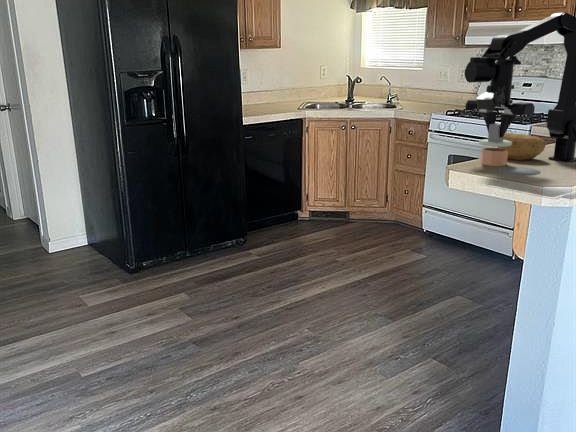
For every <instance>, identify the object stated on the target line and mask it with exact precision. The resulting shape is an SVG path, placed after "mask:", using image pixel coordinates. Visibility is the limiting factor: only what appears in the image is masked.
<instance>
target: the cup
mask: <svg viewBox="0 0 576 432" xmlns="http://www.w3.org/2000/svg"><path fill="white" fill-rule="evenodd" d="M479 155H480V157H479V163H480V164H481V165H485V166H490V167H491V166H492V167H502V166H503V167H504V166H507V164H508V159H509V158H508V150H507V149H504V148H498V147H492V146H485V147H482V148H480V154H479Z"/></svg>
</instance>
